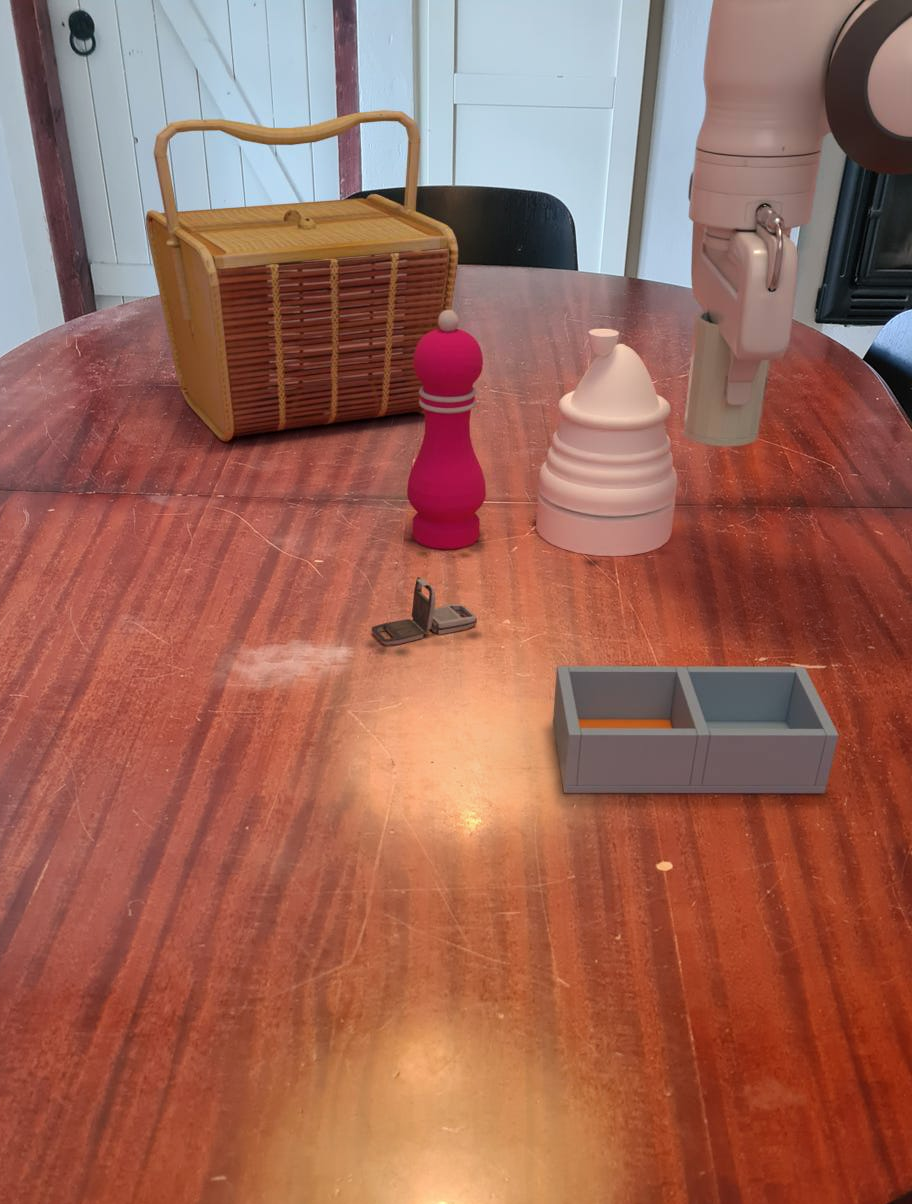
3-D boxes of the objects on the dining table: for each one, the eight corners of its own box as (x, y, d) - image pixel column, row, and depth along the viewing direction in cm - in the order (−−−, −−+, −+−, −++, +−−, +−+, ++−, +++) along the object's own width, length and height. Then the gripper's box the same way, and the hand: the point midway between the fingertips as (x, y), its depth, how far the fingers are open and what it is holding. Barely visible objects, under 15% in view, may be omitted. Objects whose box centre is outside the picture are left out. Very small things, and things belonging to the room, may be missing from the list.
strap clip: (463, 612, 103) (464, 564, 101) (479, 627, 101) (481, 579, 98) (369, 632, 100) (367, 583, 98) (384, 648, 98) (383, 598, 96)
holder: (792, 722, 89) (804, 666, 86) (825, 794, 82) (839, 734, 79) (552, 722, 89) (556, 665, 86) (563, 793, 82) (568, 734, 79)
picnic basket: (216, 462, 131) (184, 138, 113) (156, 393, 150) (120, 106, 132) (465, 427, 141) (472, 123, 122) (379, 366, 159) (374, 95, 141)
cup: (750, 421, 103) (766, 307, 97) (765, 446, 98) (783, 327, 93) (678, 422, 103) (690, 308, 97) (690, 447, 98) (703, 328, 93)
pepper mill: (476, 519, 119) (481, 298, 107) (491, 549, 113) (499, 319, 101) (402, 524, 118) (399, 301, 106) (414, 554, 112) (413, 322, 100)
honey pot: (591, 567, 110) (609, 358, 99) (509, 519, 119) (517, 322, 108) (699, 537, 116) (728, 336, 105) (613, 494, 124) (632, 304, 114)
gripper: (832, 220, 82) (797, 430, 90) (765, 170, 98) (741, 352, 106) (736, 221, 82) (710, 431, 90) (686, 171, 98) (667, 353, 106)
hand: (726, 387), depth 98 cm, fingers closed on cup, 6 cm apart
